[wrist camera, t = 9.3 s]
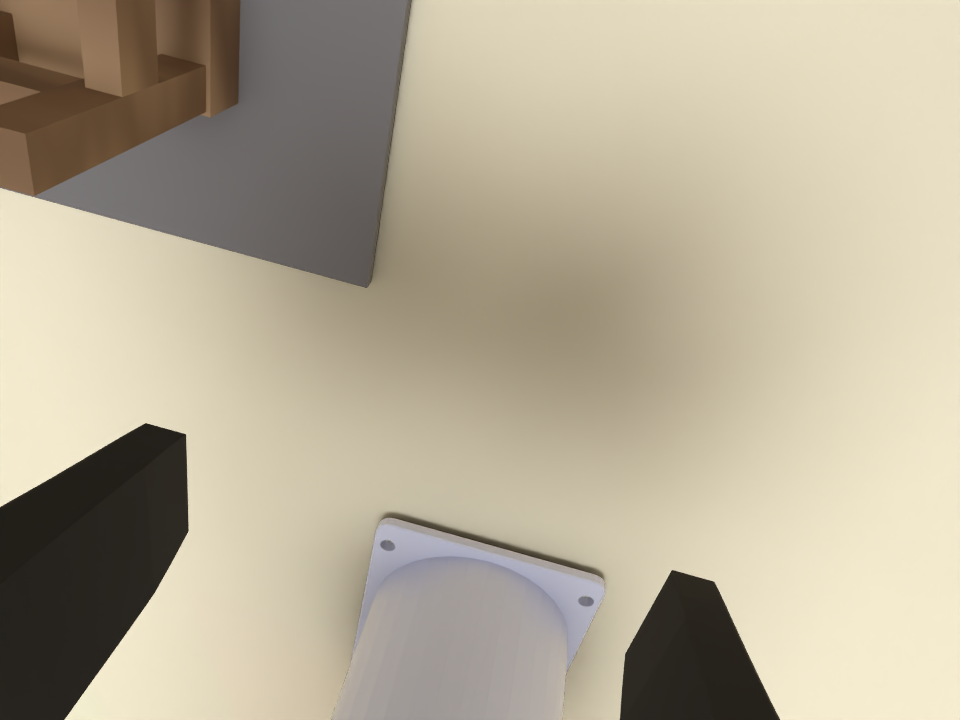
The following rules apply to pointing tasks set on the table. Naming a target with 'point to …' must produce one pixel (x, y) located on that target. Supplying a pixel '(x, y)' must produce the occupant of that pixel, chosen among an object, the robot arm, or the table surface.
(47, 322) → the table surface
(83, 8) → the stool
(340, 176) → the mat
